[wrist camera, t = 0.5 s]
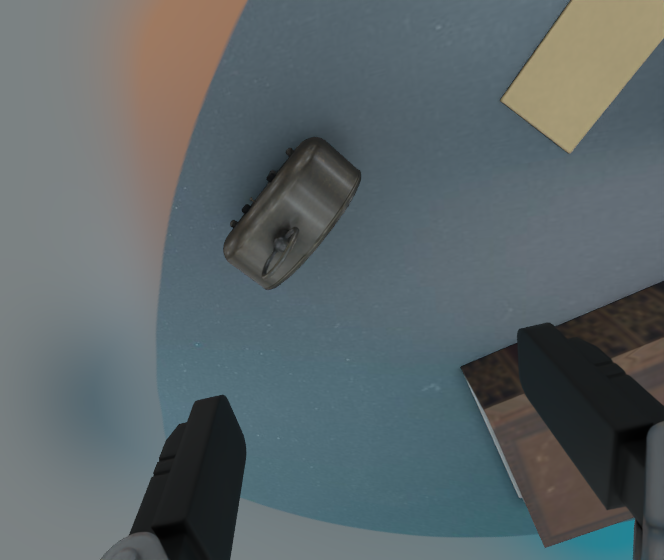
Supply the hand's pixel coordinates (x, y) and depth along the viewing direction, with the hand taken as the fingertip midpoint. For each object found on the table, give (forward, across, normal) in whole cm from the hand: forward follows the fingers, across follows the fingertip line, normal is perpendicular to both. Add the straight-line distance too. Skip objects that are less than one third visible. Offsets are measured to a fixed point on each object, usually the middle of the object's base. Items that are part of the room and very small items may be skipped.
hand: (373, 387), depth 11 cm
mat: (+27, -22, -4) cm, 35 cm away
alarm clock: (+27, +3, 0) cm, 27 cm away
